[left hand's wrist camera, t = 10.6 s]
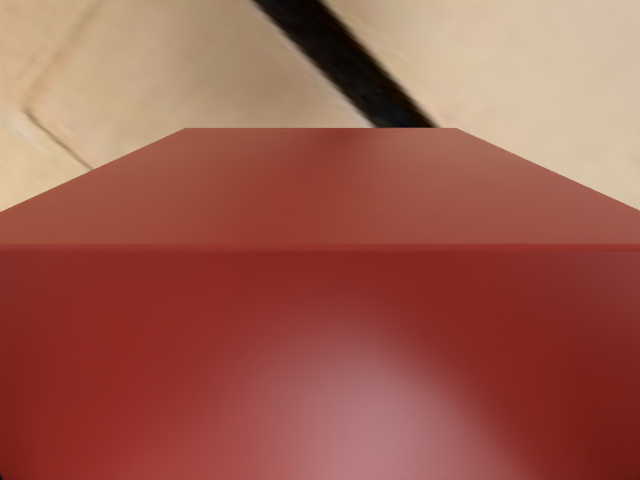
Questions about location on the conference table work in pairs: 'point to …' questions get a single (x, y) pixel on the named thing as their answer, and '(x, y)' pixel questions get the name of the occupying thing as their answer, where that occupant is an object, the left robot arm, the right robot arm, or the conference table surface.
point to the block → (320, 314)
